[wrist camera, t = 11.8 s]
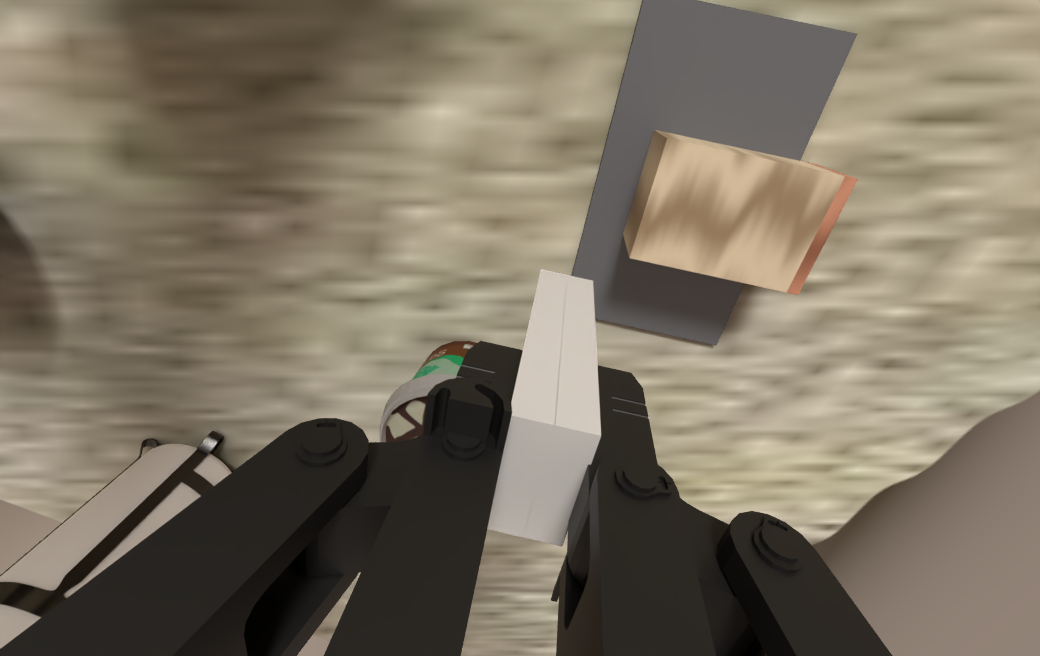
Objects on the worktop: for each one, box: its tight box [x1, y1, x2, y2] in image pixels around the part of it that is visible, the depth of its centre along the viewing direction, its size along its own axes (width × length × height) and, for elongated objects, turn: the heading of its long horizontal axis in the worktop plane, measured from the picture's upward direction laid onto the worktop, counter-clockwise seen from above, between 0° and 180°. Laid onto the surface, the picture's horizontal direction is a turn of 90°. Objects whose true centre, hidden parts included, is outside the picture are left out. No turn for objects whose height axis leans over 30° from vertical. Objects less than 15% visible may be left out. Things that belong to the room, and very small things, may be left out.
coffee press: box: [0, 431, 232, 649], centre depth 45 cm, size 17×16×30 cm
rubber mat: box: [572, 0, 857, 345], centre depth 37 cm, size 24×14×1 cm, turn 169°
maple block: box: [623, 130, 858, 295], centre depth 34 cm, size 8×6×12 cm
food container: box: [380, 341, 477, 442], centre depth 43 cm, size 12×6×10 cm, turn 146°
